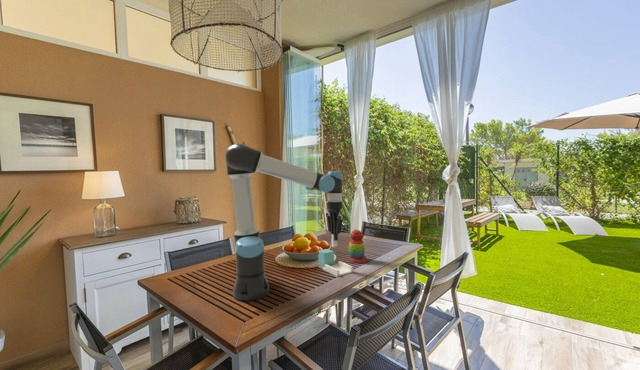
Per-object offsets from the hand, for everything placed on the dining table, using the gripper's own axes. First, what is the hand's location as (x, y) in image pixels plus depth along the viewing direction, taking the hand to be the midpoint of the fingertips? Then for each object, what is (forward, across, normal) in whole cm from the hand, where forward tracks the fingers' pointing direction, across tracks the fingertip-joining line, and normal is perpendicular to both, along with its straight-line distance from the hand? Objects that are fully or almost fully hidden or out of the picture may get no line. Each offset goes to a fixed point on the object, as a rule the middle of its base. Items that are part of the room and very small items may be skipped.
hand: (334, 246), depth 148 cm
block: (+13, +9, -1) cm, 15 cm away
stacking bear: (+12, +5, -20) cm, 24 cm away
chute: (+13, +2, -1) cm, 13 cm away
